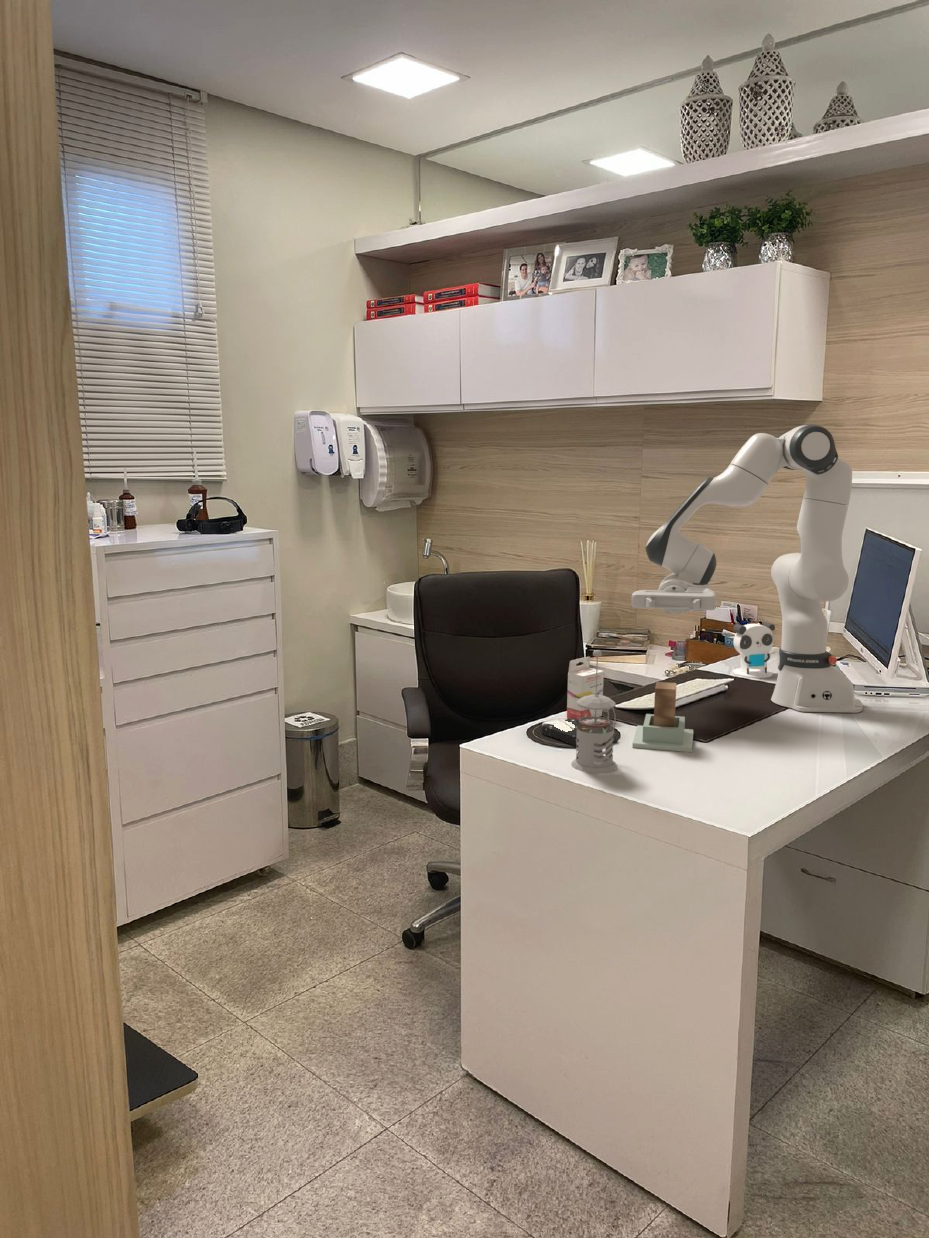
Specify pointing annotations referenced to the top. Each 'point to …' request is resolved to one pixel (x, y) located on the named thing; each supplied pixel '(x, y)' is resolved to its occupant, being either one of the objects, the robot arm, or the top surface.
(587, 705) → the french press
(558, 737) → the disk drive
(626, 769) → the top surface
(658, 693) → the walnut block
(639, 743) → the socket dock
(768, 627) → the panda figurine
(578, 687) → the ink cartridge box
